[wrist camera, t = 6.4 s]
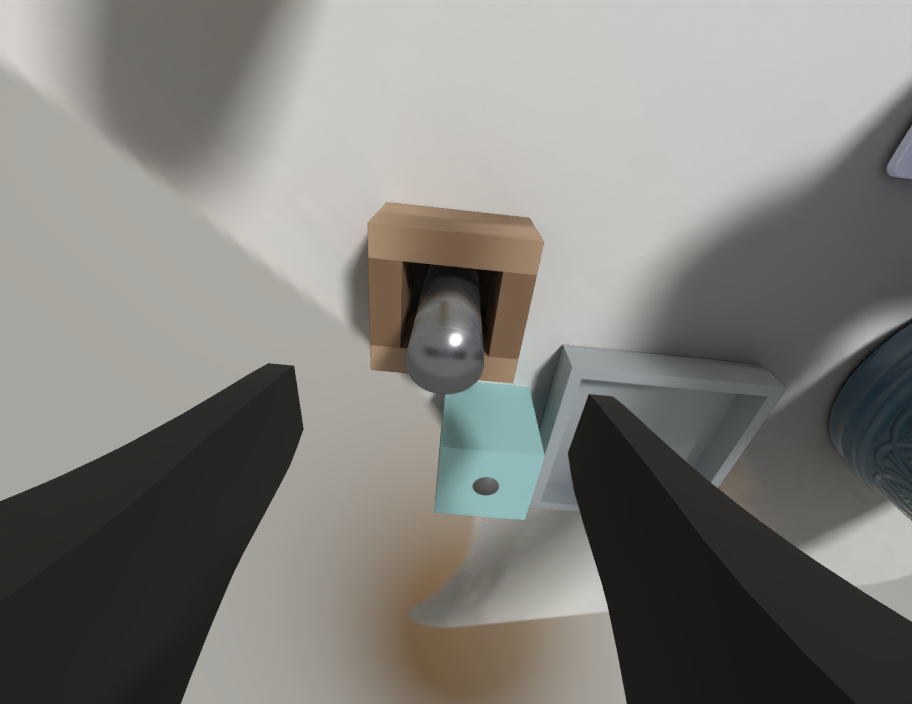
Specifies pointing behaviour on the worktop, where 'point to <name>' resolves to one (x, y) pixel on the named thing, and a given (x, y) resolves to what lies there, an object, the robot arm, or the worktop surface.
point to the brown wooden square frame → (460, 245)
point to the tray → (655, 409)
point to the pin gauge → (447, 332)
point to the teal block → (488, 452)
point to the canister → (879, 421)
